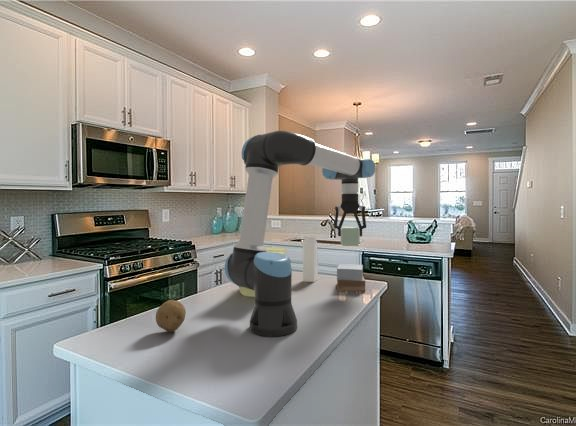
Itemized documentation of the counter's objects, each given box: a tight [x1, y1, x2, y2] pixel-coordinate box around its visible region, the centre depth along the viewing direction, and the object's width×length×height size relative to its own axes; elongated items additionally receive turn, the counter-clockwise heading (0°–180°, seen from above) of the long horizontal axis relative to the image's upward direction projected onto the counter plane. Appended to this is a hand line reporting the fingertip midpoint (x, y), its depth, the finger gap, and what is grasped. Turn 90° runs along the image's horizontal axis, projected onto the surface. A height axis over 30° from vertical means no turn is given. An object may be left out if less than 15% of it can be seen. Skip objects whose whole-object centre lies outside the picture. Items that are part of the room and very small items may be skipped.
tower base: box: [336, 276, 366, 292], centre depth 158 cm, size 12×12×5 cm
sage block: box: [341, 226, 360, 247], centre depth 156 cm, size 7×7×8 cm
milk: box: [302, 236, 319, 283], centre depth 171 cm, size 6×6×22 cm
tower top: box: [336, 263, 364, 281], centre depth 157 cm, size 11×11×5 cm
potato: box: [155, 299, 186, 333], centre depth 106 cm, size 9×9×10 cm
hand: (350, 243), depth 157 cm, fingers closed on sage block, 7 cm apart
